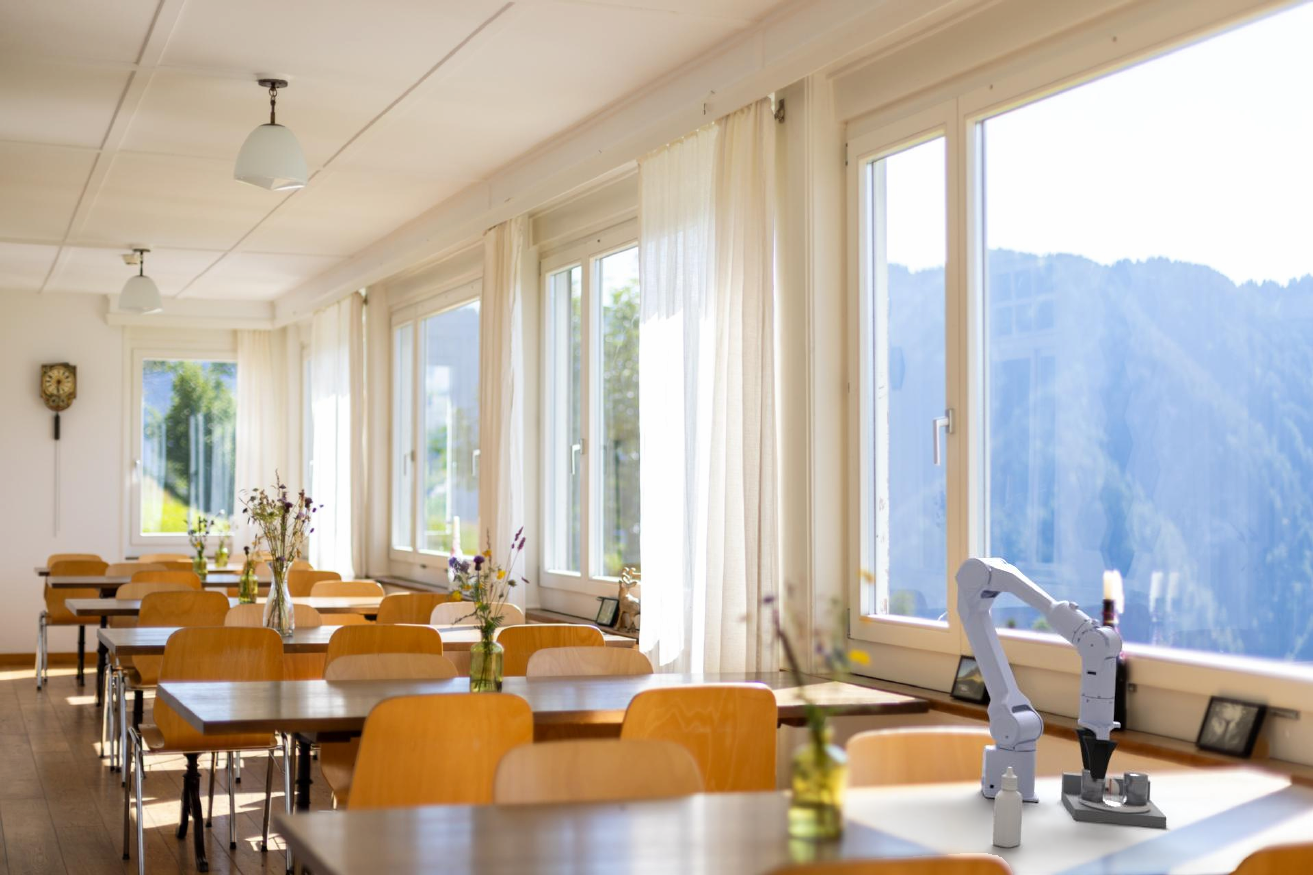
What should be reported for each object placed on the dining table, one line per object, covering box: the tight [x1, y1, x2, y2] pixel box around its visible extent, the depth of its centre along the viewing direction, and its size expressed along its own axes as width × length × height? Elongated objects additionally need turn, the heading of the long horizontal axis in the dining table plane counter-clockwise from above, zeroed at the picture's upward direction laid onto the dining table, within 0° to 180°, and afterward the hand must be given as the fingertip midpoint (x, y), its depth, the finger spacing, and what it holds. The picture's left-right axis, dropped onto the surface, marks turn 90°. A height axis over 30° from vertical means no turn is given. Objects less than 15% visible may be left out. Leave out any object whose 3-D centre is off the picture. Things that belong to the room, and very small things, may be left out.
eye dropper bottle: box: [992, 767, 1023, 849], centre depth 206 cm, size 4×6×12 cm
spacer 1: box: [1081, 767, 1107, 802], centre depth 230 cm, size 4×4×5 cm
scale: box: [1060, 771, 1167, 829], centre depth 230 cm, size 15×15×5 cm
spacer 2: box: [1123, 771, 1149, 806], centre depth 228 cm, size 4×4×5 cm
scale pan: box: [1078, 793, 1150, 814], centre depth 229 cm, size 12×12×1 cm
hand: (1093, 773), depth 230 cm, fingers open, 7 cm apart
